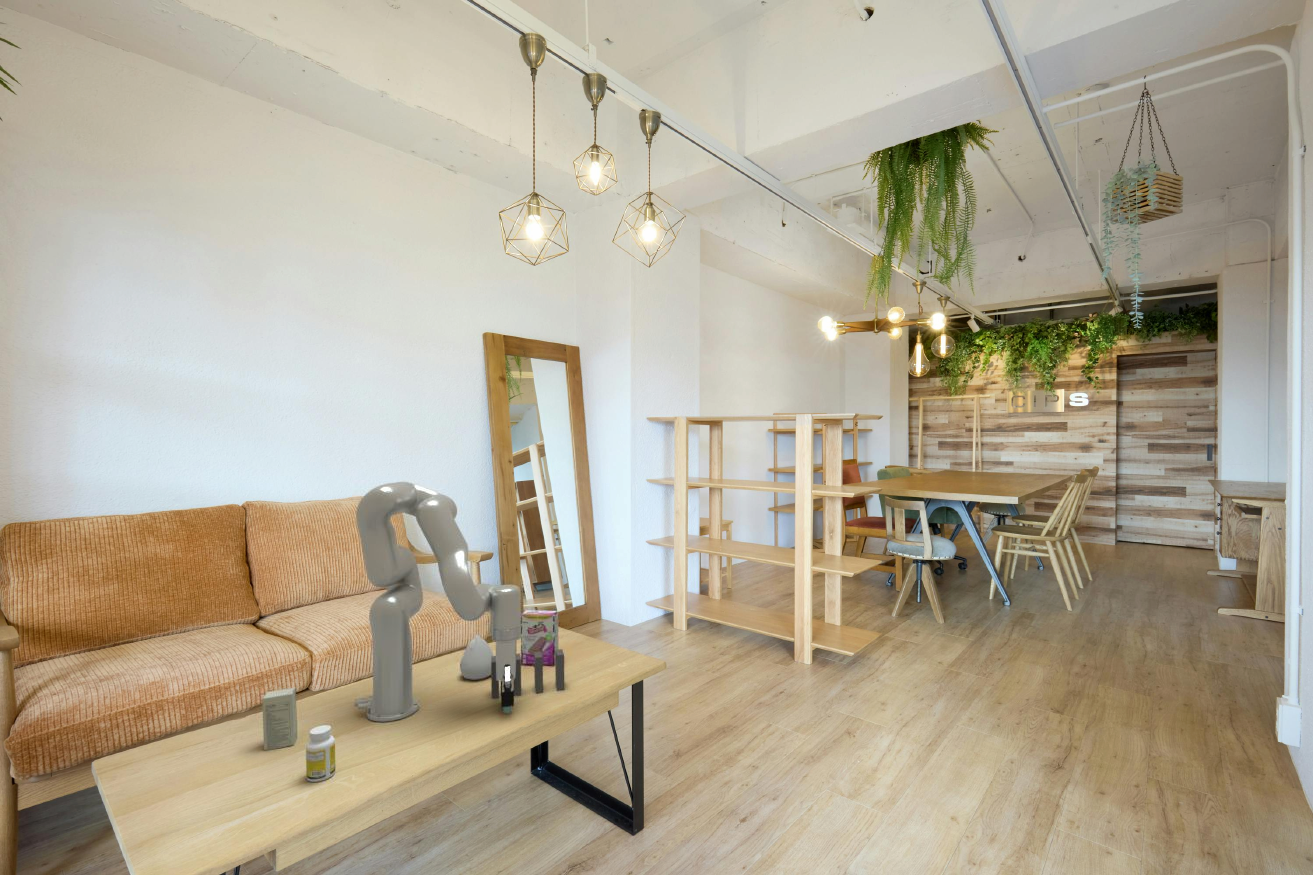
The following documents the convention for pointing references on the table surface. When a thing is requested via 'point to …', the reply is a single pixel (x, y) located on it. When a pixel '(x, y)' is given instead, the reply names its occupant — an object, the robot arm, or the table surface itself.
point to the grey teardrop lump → (476, 660)
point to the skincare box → (279, 718)
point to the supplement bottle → (320, 754)
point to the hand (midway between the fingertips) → (507, 699)
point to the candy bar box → (539, 636)
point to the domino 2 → (506, 709)
